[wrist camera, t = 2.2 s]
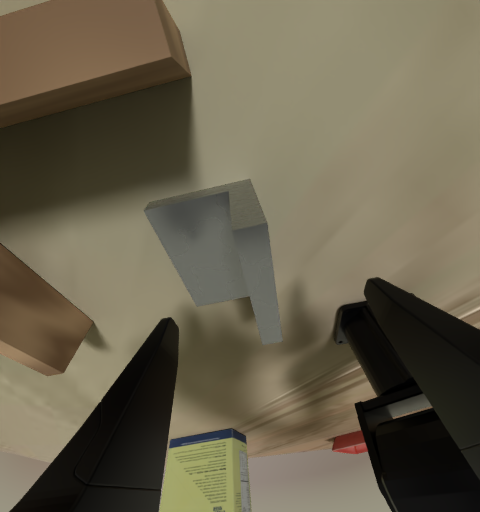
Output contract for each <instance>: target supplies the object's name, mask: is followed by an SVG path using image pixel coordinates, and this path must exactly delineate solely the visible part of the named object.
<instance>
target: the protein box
mask: <svg viewBox="0 0 480 512" xmlns="http://www.w3.org/2000/svg"><path fill="white" fill-rule="evenodd" d="M159 512H251V497H250V485H249V472H248V458H247V444H246V436H244V435H242V434H240V433H239V432H237V431H235V430H233V429H226V430H221V431H215V432H210V433H205V434H199V435H194V436H188V437H182V438H177V439H172V440H170V445H169V452H168V458H167V465H166V472H165V478H164V485H163V491H162V498H161V505H160V511H159Z"/></svg>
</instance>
